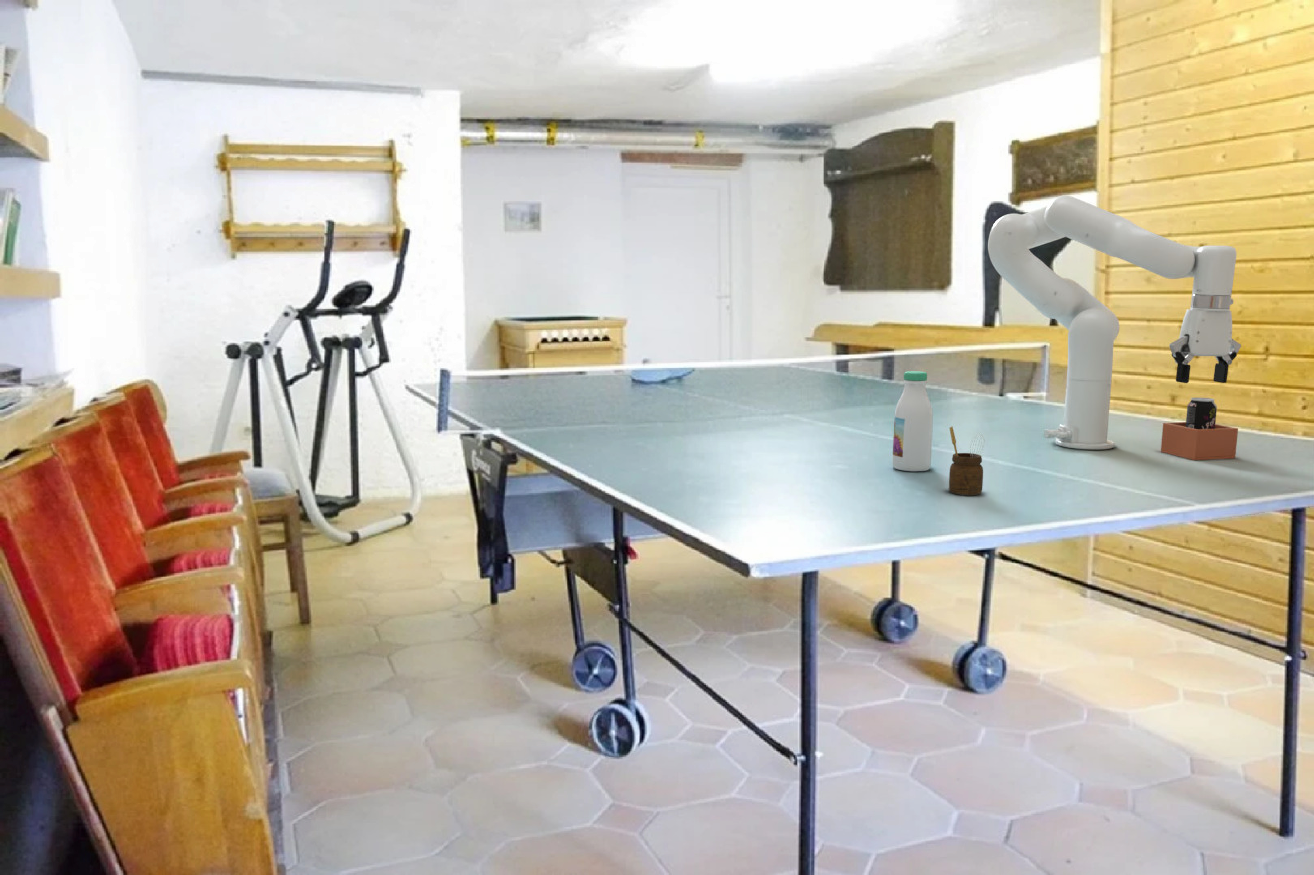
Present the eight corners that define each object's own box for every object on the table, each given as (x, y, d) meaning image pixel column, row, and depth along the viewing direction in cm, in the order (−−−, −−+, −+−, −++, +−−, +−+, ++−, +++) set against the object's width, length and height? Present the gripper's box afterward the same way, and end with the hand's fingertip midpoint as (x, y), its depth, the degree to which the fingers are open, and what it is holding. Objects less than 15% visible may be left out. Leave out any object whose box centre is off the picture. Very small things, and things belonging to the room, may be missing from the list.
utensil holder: (977, 497, 183) (981, 431, 181) (942, 493, 186) (945, 428, 184) (986, 491, 188) (989, 427, 186) (952, 487, 191) (955, 424, 189)
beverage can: (1213, 451, 225) (1218, 398, 223) (1211, 455, 220) (1216, 400, 218) (1184, 449, 228) (1189, 396, 226) (1182, 453, 223) (1186, 399, 221)
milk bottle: (933, 466, 211) (938, 371, 208) (926, 473, 204) (931, 374, 201) (896, 463, 214) (900, 369, 211) (888, 470, 207) (892, 372, 204)
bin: (1194, 460, 218) (1197, 430, 217) (1160, 451, 228) (1163, 422, 227) (1235, 458, 220) (1238, 428, 219) (1200, 449, 230) (1202, 421, 229)
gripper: (1231, 303, 224) (1221, 380, 227) (1163, 302, 220) (1155, 380, 224) (1257, 305, 217) (1247, 384, 220) (1188, 304, 213) (1179, 384, 216)
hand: (1200, 382), depth 222 cm, fingers open, 9 cm apart
